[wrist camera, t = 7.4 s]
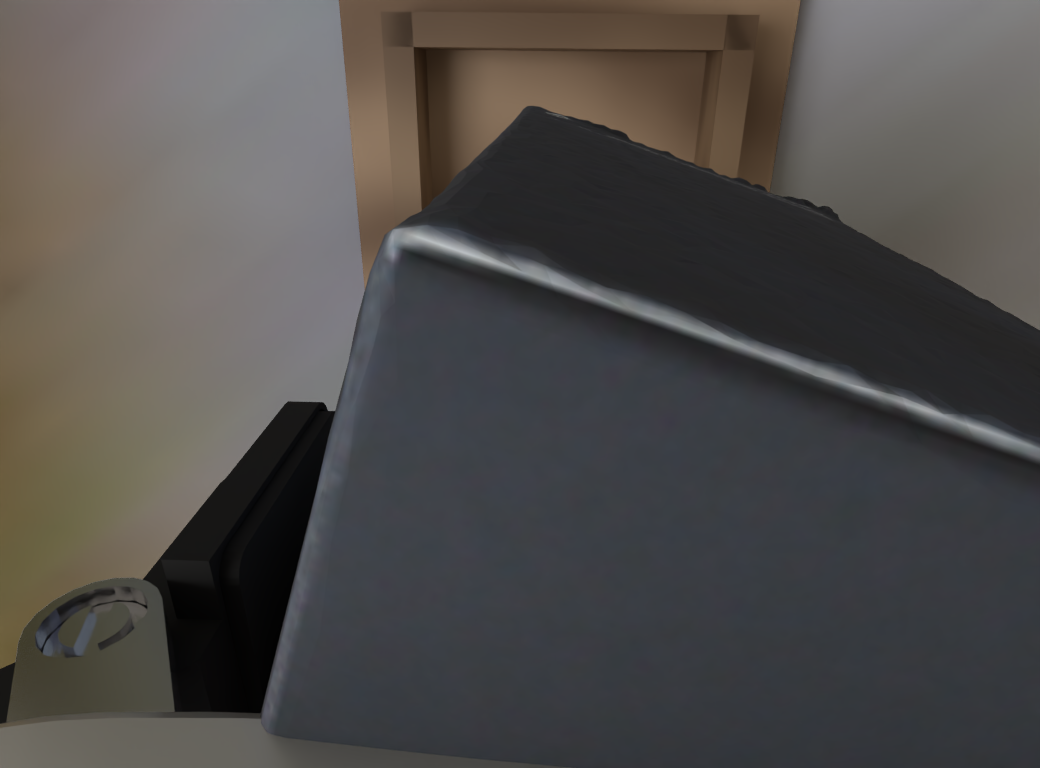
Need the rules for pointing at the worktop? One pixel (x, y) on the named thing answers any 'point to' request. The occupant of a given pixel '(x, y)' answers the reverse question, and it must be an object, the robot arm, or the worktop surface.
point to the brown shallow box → (555, 85)
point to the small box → (667, 485)
